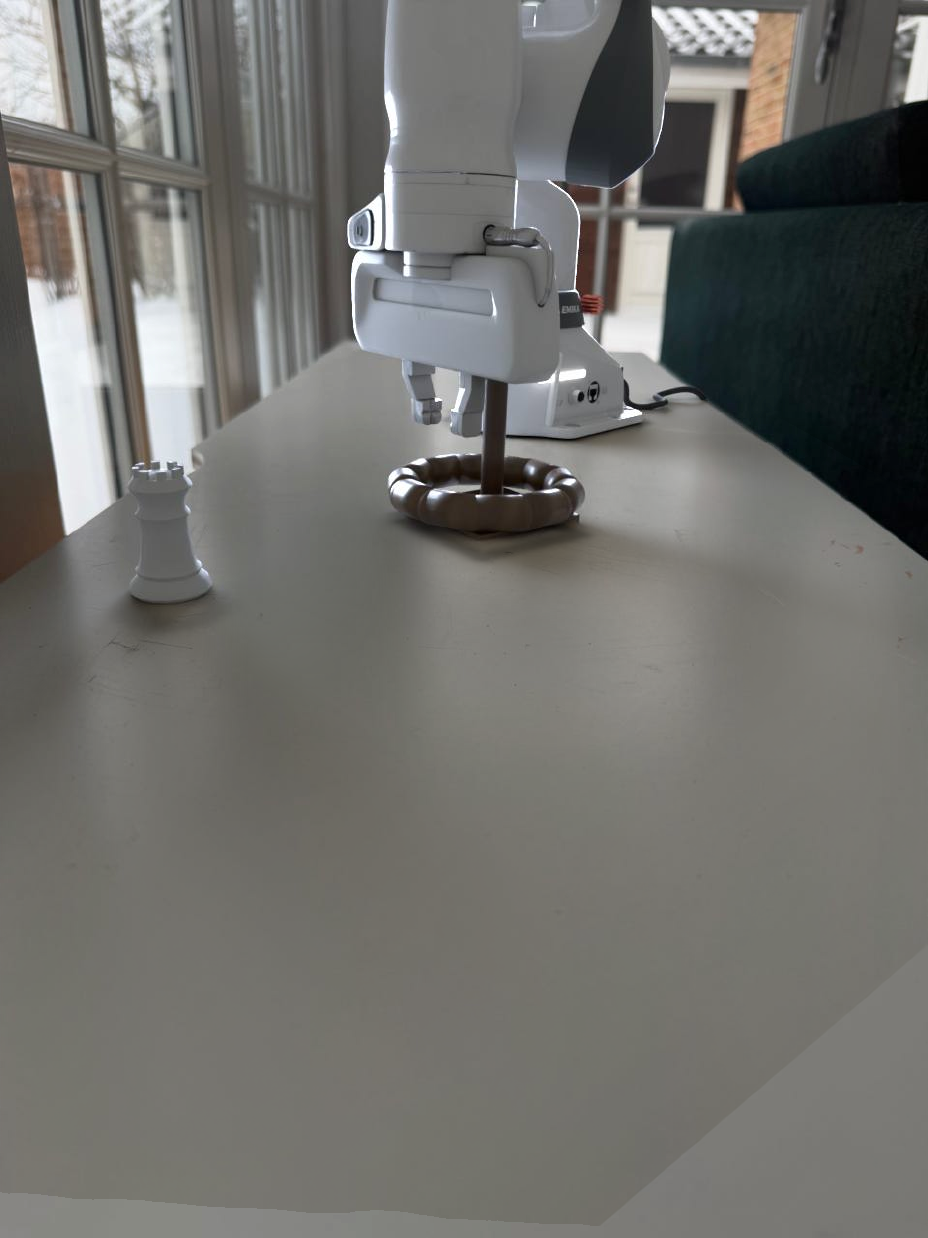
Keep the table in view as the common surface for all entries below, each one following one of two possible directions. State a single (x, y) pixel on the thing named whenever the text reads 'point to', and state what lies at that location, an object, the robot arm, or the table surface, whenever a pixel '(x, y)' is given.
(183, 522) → the rook chess piece
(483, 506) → the ring
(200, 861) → the table surface
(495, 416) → the post
